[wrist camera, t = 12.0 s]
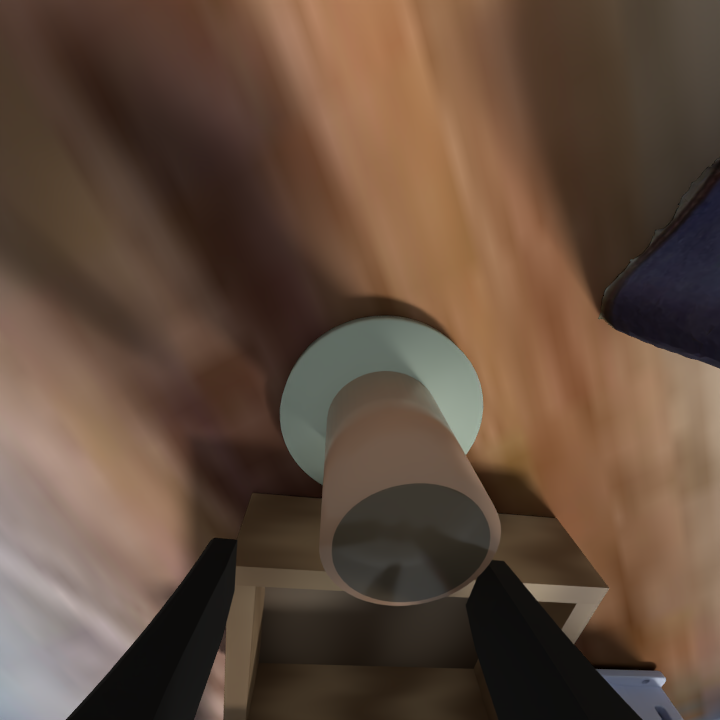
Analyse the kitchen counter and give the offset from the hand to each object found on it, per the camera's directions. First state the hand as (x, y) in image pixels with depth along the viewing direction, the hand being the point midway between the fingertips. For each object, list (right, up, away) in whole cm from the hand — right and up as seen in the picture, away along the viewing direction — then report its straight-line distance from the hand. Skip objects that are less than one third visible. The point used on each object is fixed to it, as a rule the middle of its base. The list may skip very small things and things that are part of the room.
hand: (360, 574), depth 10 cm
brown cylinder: (+1, +4, +4) cm, 5 cm away
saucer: (+1, +4, +4) cm, 6 cm away
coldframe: (+1, -7, +9) cm, 11 cm away
